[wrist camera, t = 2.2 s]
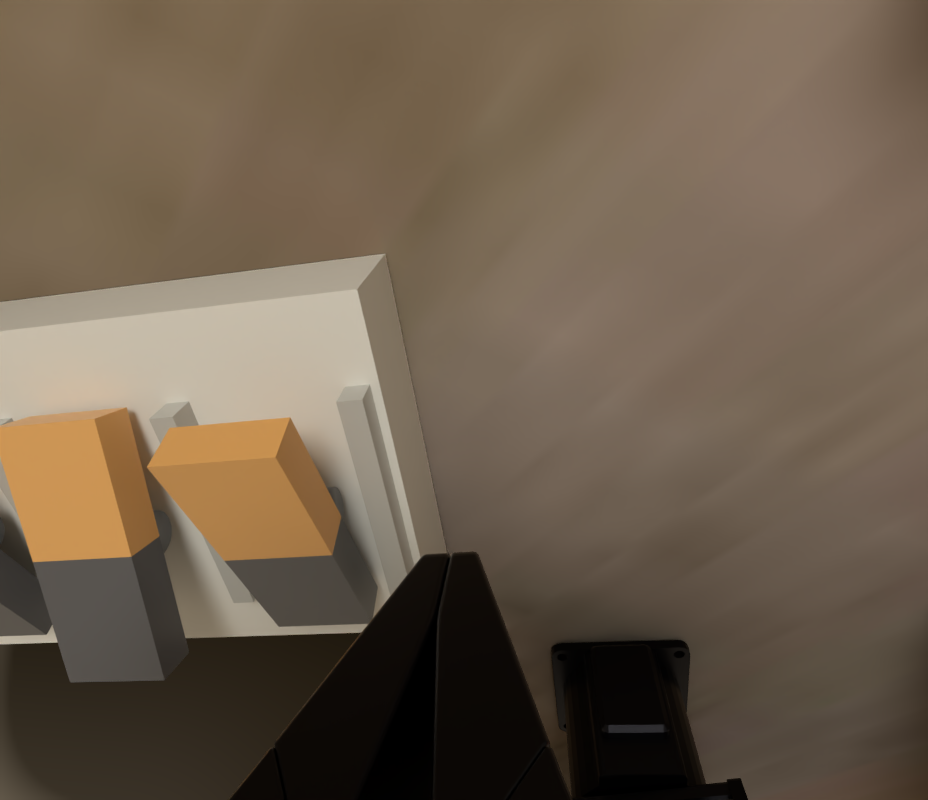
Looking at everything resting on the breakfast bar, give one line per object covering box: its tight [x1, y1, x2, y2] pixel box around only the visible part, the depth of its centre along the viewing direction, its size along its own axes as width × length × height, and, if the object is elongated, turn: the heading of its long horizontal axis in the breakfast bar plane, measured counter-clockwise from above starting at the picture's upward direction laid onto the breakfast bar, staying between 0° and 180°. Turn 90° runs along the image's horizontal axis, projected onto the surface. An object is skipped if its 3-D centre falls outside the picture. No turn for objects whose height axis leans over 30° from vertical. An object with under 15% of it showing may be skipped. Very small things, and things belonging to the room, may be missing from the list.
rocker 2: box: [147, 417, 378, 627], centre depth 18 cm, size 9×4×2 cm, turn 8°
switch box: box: [0, 254, 447, 644], centre depth 22 cm, size 14×20×5 cm
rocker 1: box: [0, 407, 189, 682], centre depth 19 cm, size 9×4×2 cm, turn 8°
